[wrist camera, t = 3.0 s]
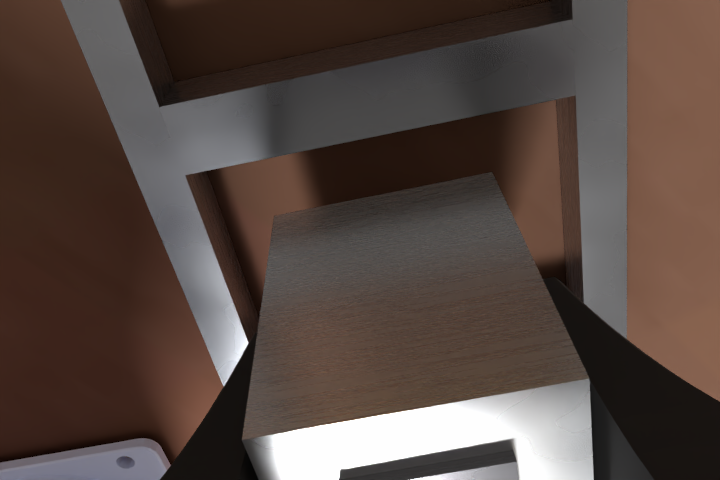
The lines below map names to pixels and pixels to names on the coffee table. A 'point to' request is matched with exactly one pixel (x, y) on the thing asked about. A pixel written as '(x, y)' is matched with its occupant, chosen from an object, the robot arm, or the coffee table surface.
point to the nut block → (413, 346)
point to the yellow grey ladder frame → (365, 129)
